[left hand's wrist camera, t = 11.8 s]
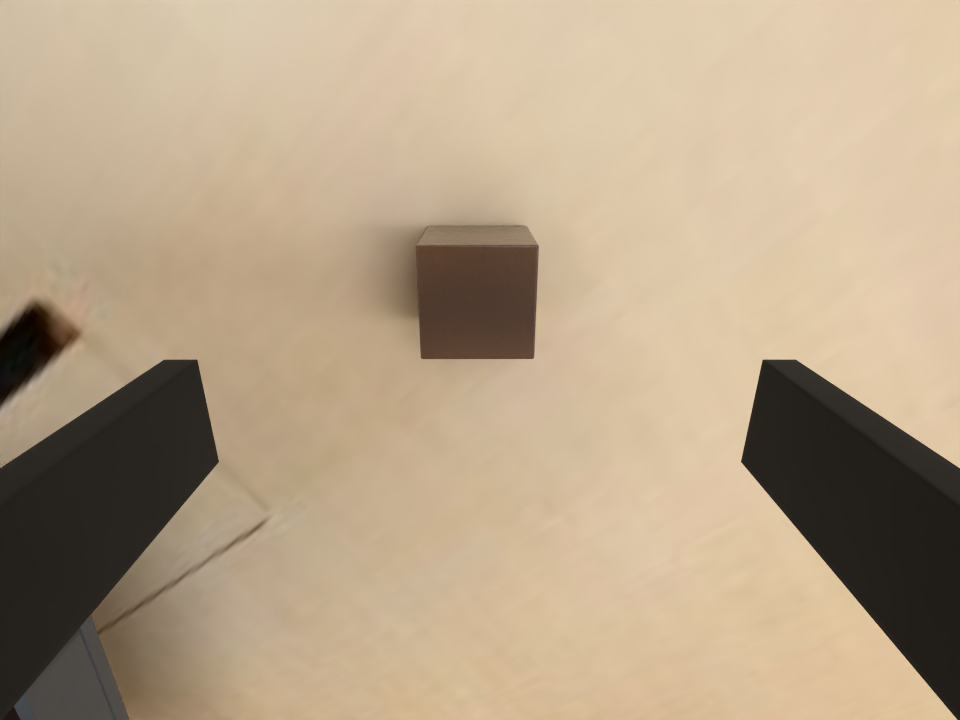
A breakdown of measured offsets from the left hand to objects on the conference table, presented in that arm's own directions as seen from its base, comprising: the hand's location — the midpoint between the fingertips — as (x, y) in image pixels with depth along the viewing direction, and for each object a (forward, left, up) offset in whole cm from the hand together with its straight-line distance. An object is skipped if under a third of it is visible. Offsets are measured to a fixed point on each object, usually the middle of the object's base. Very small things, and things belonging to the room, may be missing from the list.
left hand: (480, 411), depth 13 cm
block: (0, 0, -13) cm, 13 cm away
